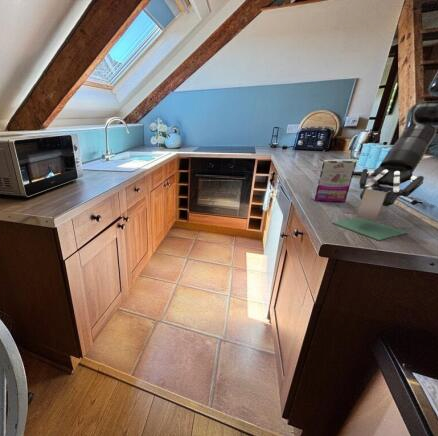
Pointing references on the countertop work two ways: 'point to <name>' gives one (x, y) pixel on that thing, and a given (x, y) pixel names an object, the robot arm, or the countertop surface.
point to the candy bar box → (333, 180)
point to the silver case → (374, 203)
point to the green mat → (370, 228)
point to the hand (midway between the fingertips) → (374, 202)
